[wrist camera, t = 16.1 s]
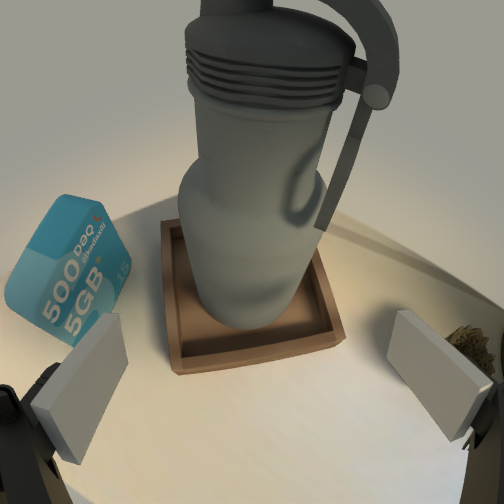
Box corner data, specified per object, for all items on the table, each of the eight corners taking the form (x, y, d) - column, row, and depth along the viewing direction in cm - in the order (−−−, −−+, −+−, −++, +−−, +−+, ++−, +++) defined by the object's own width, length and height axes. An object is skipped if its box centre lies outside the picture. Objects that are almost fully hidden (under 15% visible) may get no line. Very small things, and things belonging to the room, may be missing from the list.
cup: (395, 358, 28) (437, 338, 21) (440, 338, 29) (482, 315, 22) (412, 418, 24) (458, 412, 17) (456, 392, 25) (502, 379, 19)
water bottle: (308, 269, 32) (412, -5, 8) (273, 349, 27) (438, 5, 3) (224, 234, 34) (226, -41, 10) (181, 306, 29) (86, -19, 5)
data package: (93, 357, 26) (28, 320, 16) (63, 341, 26) (-3, 299, 16) (134, 262, 32) (98, 193, 22) (104, 253, 33) (64, 186, 22)
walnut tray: (334, 346, 29) (346, 338, 26) (178, 375, 26) (171, 370, 23) (295, 222, 36) (300, 204, 33) (166, 238, 34) (160, 221, 31)
